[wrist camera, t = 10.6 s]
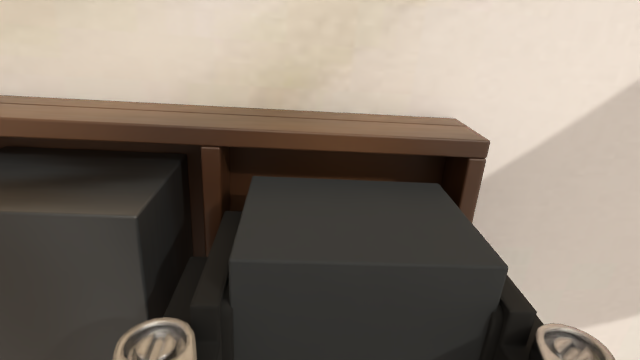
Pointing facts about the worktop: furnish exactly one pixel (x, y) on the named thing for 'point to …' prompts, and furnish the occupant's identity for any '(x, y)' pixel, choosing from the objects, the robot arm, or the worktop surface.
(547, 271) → the worktop surface
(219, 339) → the robot arm
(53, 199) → the partitioned wooden crate
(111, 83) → the worktop surface
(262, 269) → the block
